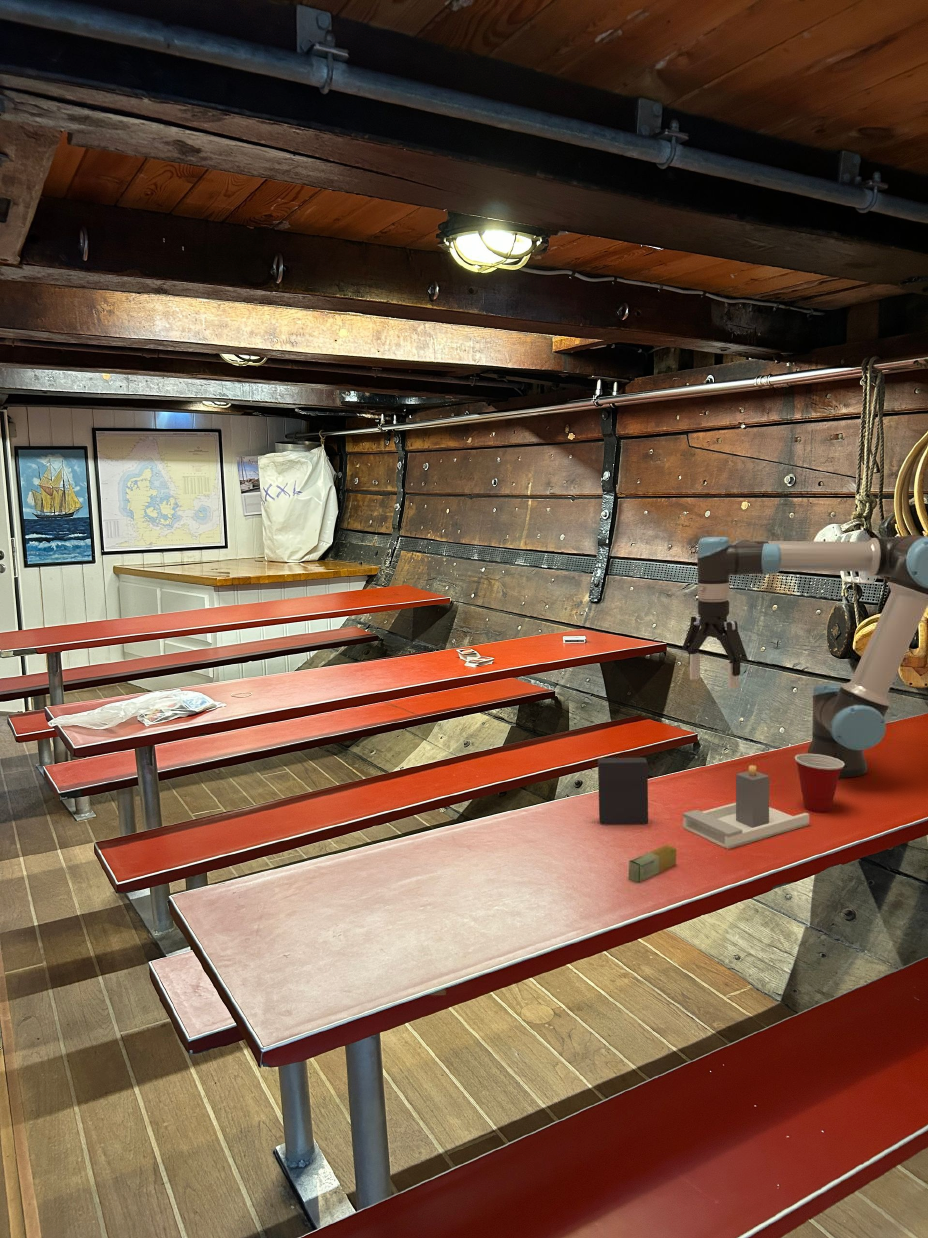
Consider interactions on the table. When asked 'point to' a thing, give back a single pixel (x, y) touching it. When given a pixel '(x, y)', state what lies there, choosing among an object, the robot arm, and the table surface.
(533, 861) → the table surface
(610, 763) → the calculator
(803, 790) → the plastic cup
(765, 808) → the grey bottle with cork
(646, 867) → the medication box
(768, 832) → the tray
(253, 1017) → the table surface
